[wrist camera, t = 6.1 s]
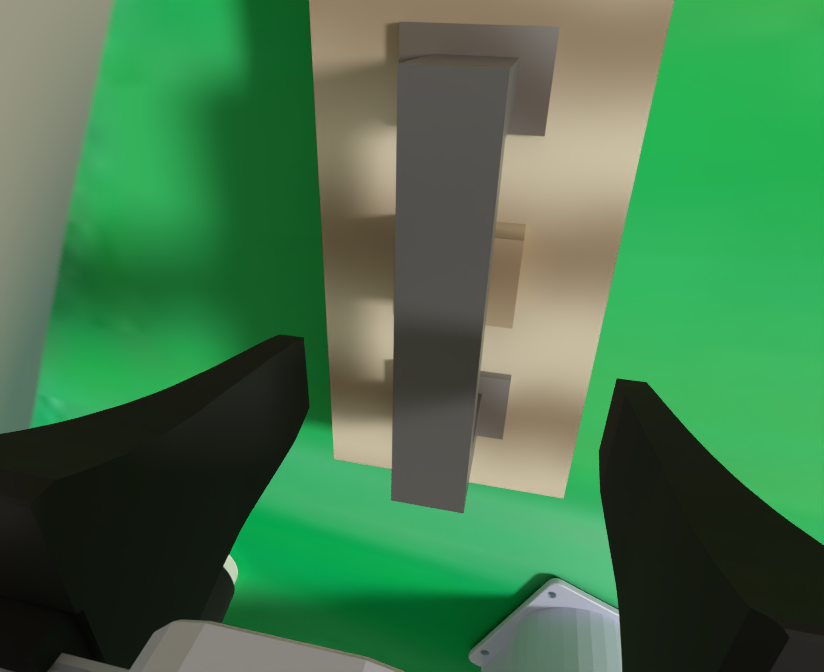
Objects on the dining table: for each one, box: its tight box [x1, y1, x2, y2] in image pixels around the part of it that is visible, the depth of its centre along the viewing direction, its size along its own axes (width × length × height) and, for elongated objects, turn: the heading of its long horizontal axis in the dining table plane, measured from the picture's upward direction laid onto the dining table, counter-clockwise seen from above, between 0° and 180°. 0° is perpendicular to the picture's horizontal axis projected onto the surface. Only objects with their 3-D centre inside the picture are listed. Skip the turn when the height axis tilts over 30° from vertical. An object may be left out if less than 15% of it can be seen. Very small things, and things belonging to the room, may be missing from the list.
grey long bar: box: [391, 54, 519, 513], centre depth 17 cm, size 13×2×4 cm, turn 178°
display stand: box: [309, 0, 674, 498], centre depth 20 cm, size 20×10×5 cm, turn 178°
